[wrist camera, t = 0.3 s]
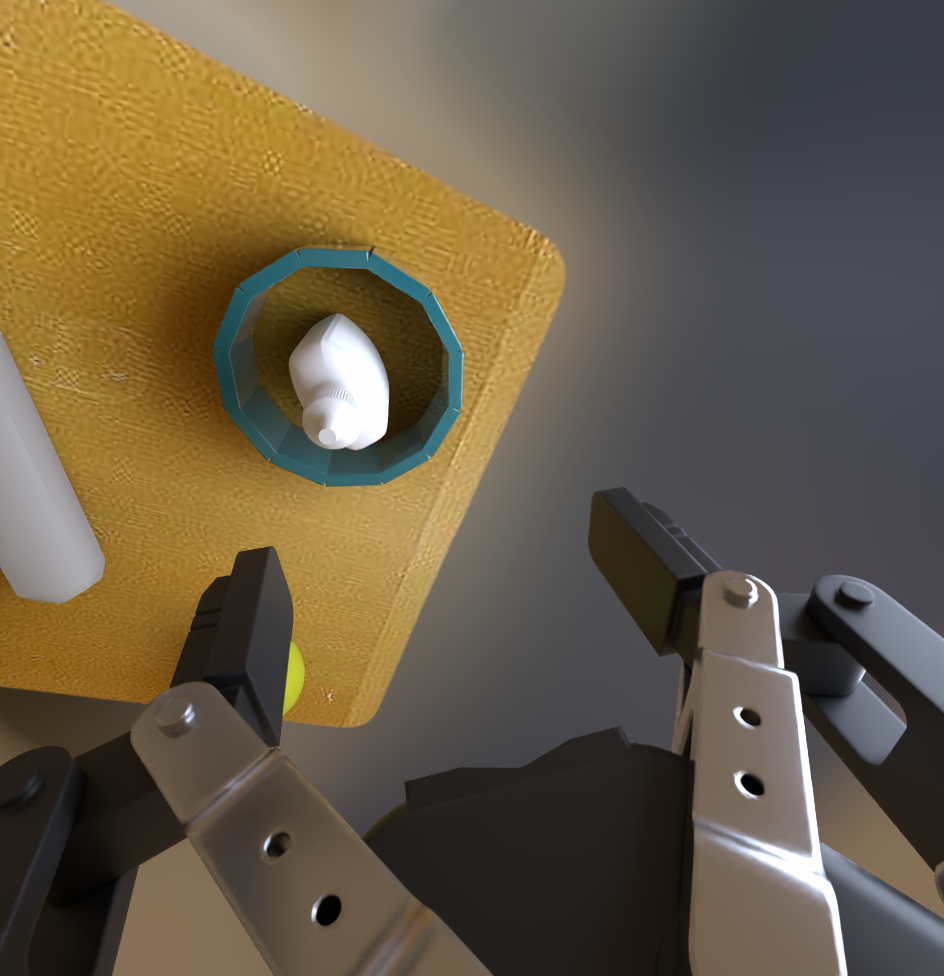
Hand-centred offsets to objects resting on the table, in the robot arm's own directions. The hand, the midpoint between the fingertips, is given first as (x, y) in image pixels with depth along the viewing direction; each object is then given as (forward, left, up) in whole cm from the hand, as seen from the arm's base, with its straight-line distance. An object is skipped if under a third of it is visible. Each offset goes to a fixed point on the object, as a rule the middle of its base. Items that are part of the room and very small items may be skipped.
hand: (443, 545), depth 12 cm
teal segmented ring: (+2, -3, -20) cm, 21 cm away
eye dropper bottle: (+2, -3, -21) cm, 21 cm away
